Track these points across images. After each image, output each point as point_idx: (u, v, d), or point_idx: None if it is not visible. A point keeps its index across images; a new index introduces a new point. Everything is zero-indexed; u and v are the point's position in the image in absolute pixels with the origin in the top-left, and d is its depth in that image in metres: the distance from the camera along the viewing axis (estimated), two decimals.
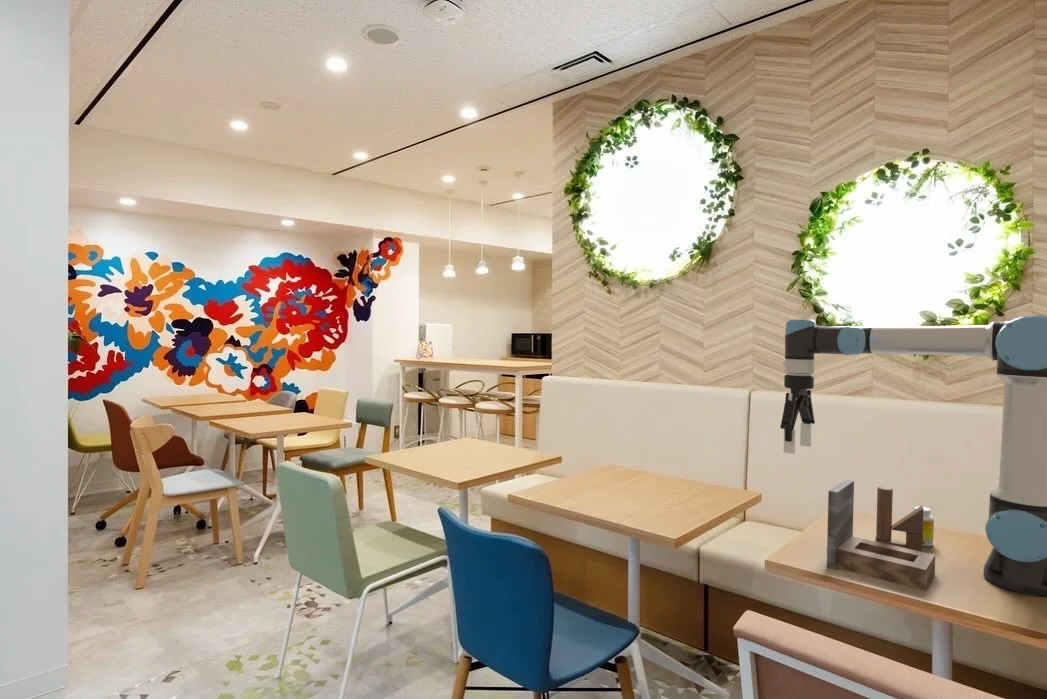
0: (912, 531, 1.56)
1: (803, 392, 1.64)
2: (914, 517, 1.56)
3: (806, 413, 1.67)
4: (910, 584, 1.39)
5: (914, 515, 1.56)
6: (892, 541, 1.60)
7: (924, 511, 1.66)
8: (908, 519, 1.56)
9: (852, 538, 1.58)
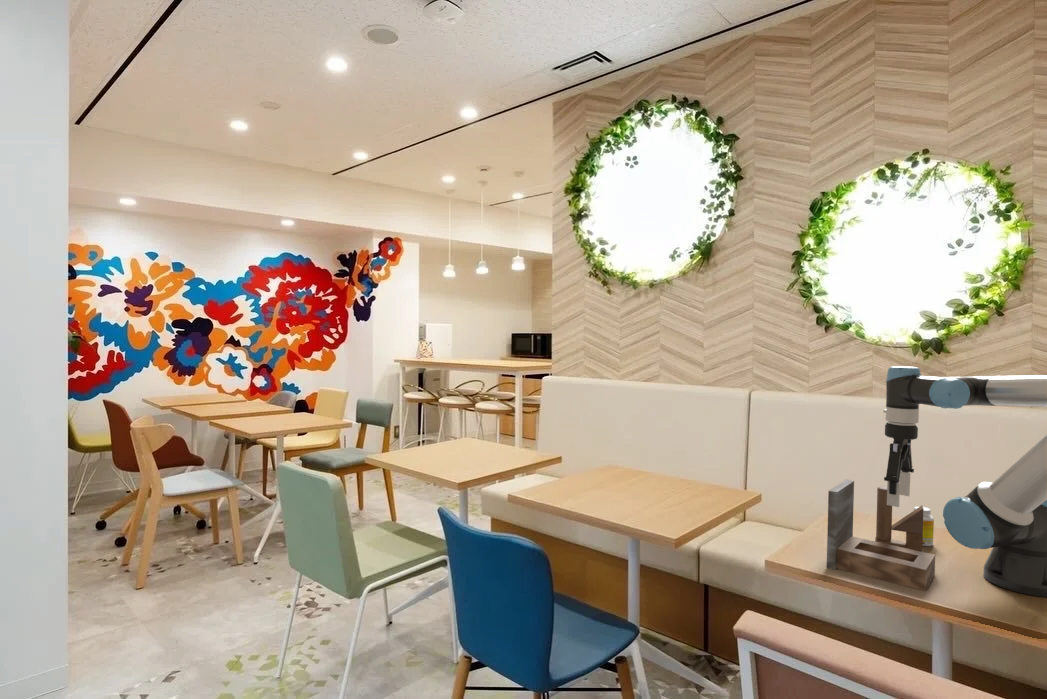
0: (912, 531, 1.56)
1: (905, 442, 1.58)
2: (914, 517, 1.56)
3: (906, 462, 1.62)
4: (910, 584, 1.39)
5: (914, 515, 1.56)
6: (892, 541, 1.60)
7: (924, 511, 1.66)
8: (908, 519, 1.56)
9: (852, 538, 1.58)
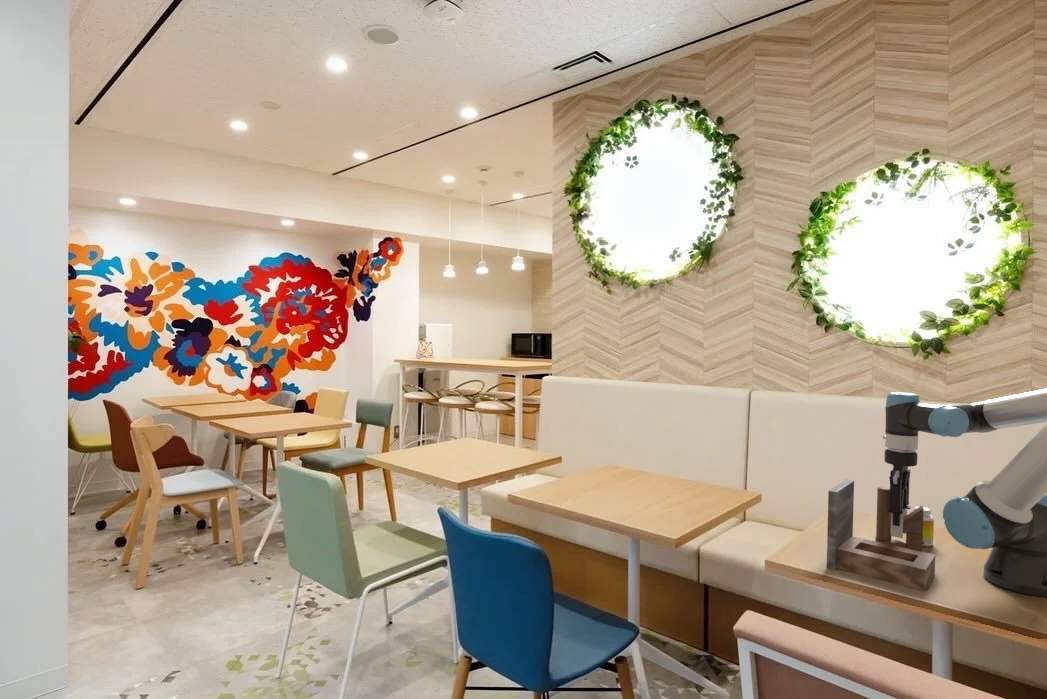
0: (912, 531, 1.56)
1: (905, 468, 1.58)
2: (914, 517, 1.56)
3: (904, 494, 1.60)
4: (910, 584, 1.39)
5: (914, 515, 1.56)
6: (892, 541, 1.60)
7: (924, 511, 1.66)
8: (908, 519, 1.56)
9: (852, 538, 1.58)
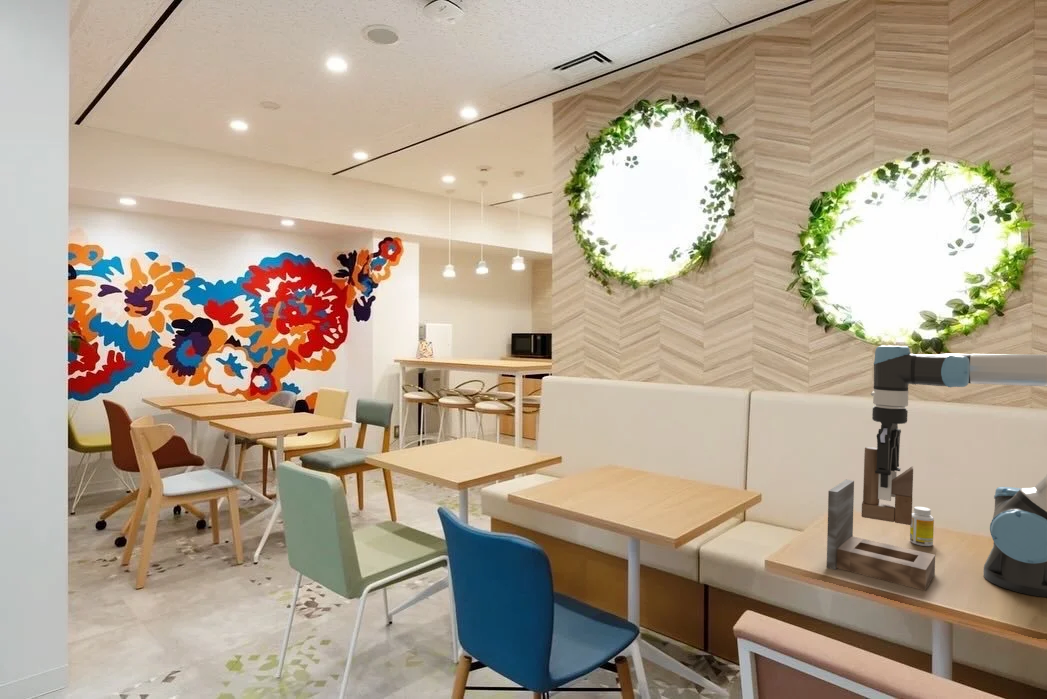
0: (901, 493, 1.45)
1: (894, 426, 1.47)
2: (903, 478, 1.45)
3: (893, 454, 1.49)
4: (910, 584, 1.39)
5: (903, 476, 1.45)
6: (880, 505, 1.49)
7: (924, 511, 1.66)
8: (897, 480, 1.46)
9: (852, 538, 1.58)
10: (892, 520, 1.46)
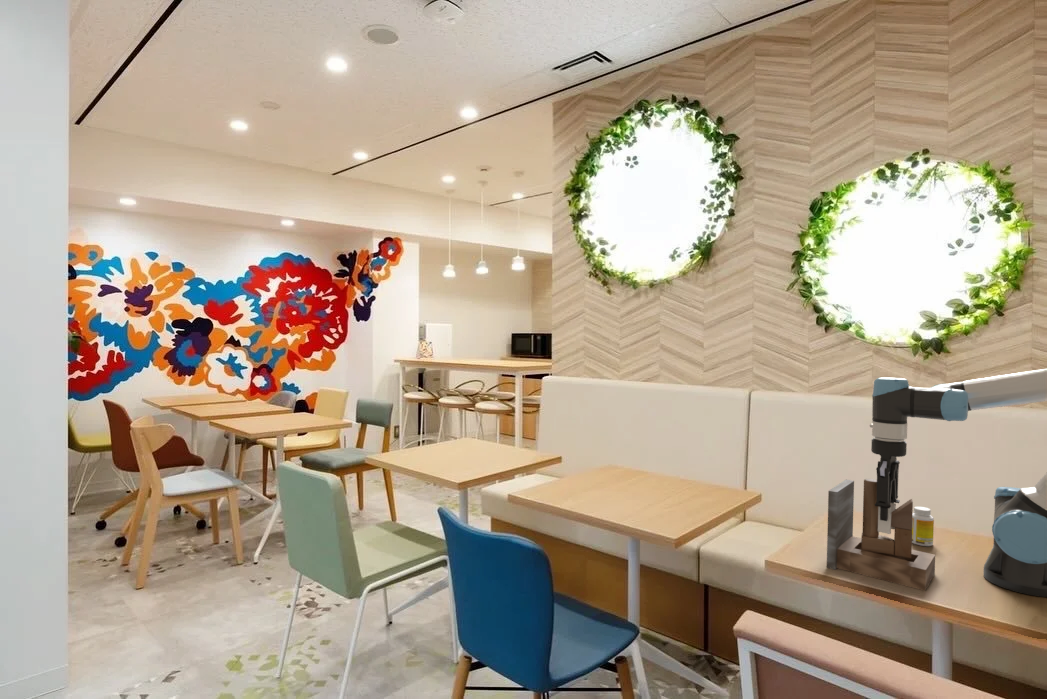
0: (901, 526, 1.45)
1: (893, 459, 1.47)
2: (903, 511, 1.45)
3: (892, 486, 1.49)
4: (910, 584, 1.39)
5: (903, 509, 1.45)
6: (879, 537, 1.48)
7: (924, 511, 1.66)
8: (896, 513, 1.45)
9: (852, 538, 1.58)
10: (892, 553, 1.46)
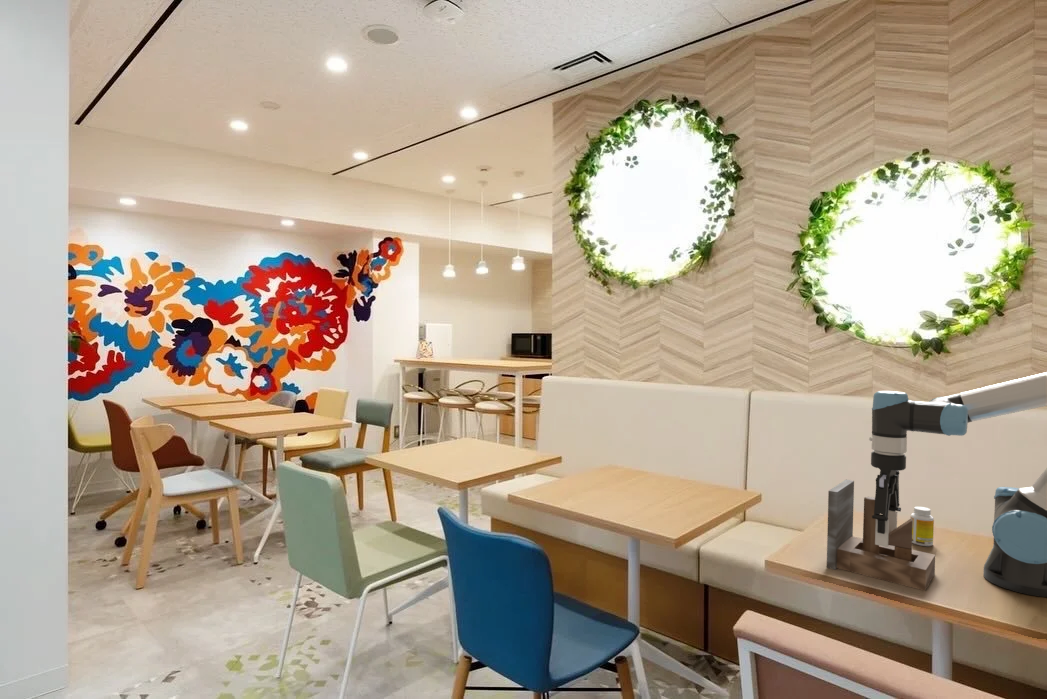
0: (900, 545, 1.45)
1: (893, 472, 1.47)
2: (902, 530, 1.45)
3: (893, 497, 1.50)
4: (910, 584, 1.39)
5: (902, 528, 1.45)
6: None
7: (924, 511, 1.66)
8: (896, 532, 1.46)
9: (852, 538, 1.58)
10: None
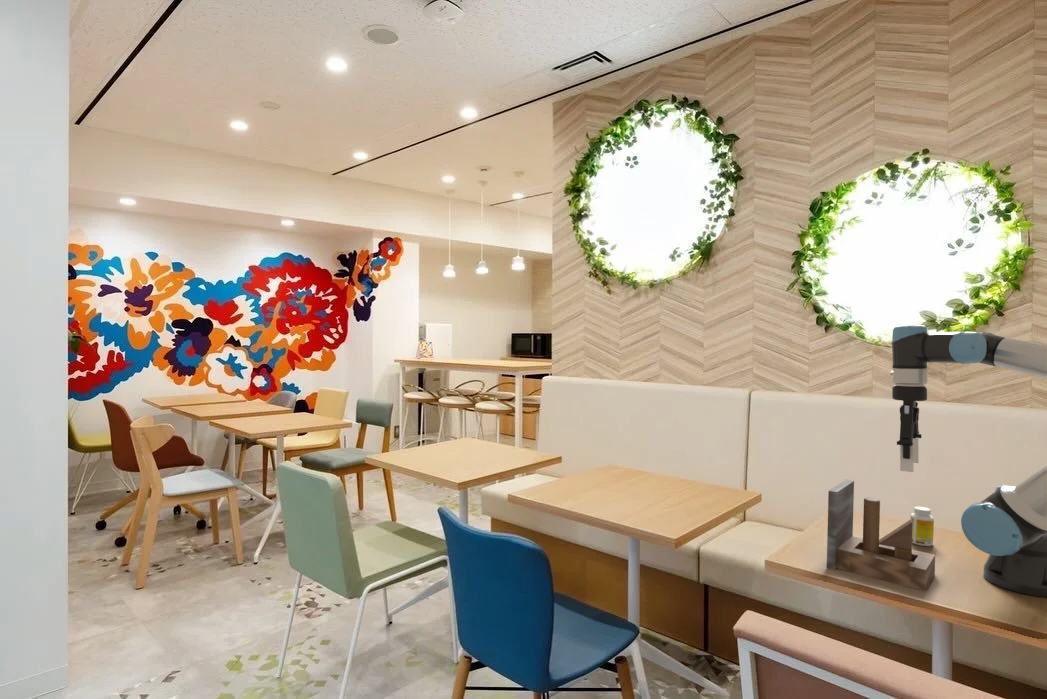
0: (900, 546, 1.45)
1: (914, 404, 1.51)
2: (902, 531, 1.45)
3: (914, 427, 1.54)
4: (910, 584, 1.39)
5: (902, 529, 1.45)
6: None
7: (924, 511, 1.66)
8: (896, 533, 1.45)
9: (852, 538, 1.58)
10: None
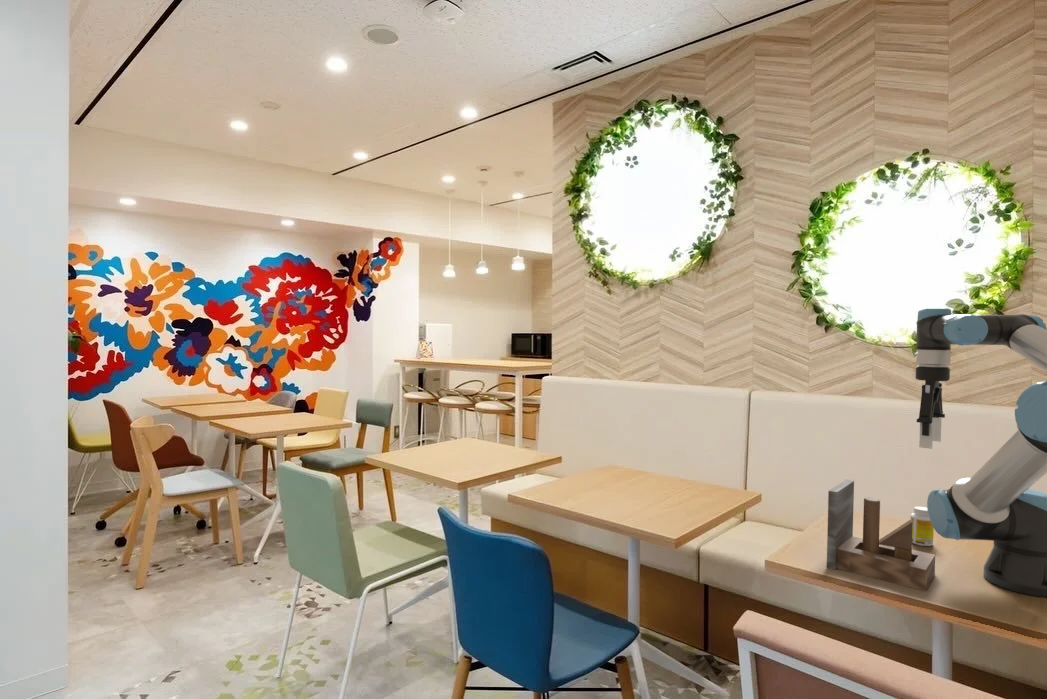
0: (900, 546, 1.45)
1: (937, 384, 1.56)
2: (902, 531, 1.45)
3: (937, 406, 1.60)
4: (910, 584, 1.39)
5: (902, 529, 1.45)
6: None
7: (924, 511, 1.66)
8: (896, 533, 1.45)
9: (852, 538, 1.58)
10: None
